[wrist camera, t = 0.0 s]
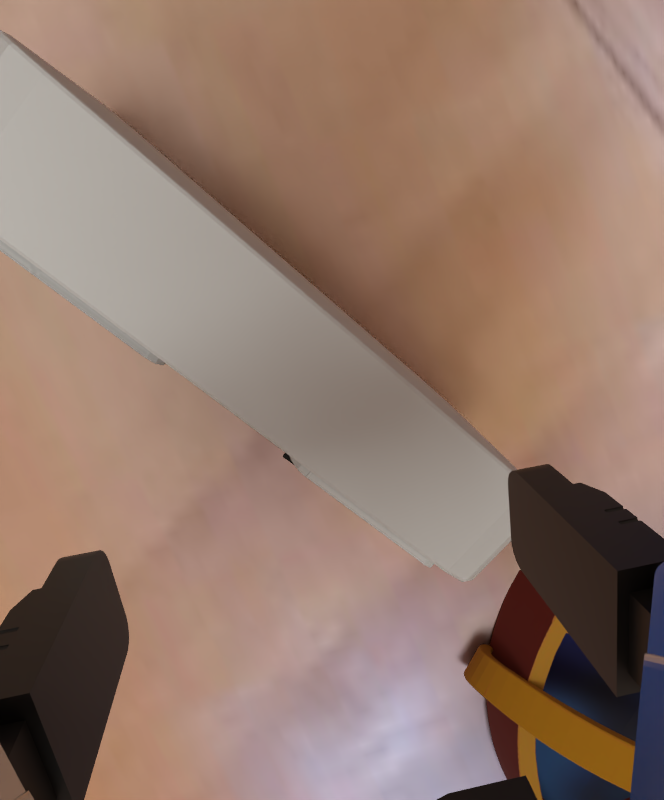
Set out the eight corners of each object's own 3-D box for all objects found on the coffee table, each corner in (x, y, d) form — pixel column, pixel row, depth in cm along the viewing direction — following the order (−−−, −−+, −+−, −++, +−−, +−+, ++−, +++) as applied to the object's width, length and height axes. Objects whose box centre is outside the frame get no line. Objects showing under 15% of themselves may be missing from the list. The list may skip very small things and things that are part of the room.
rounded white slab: (34, 210, 36) (-168, 204, 19) (109, 108, 35) (-33, 2, 18) (374, 474, 44) (450, 638, 27) (444, 398, 43) (569, 519, 26)
